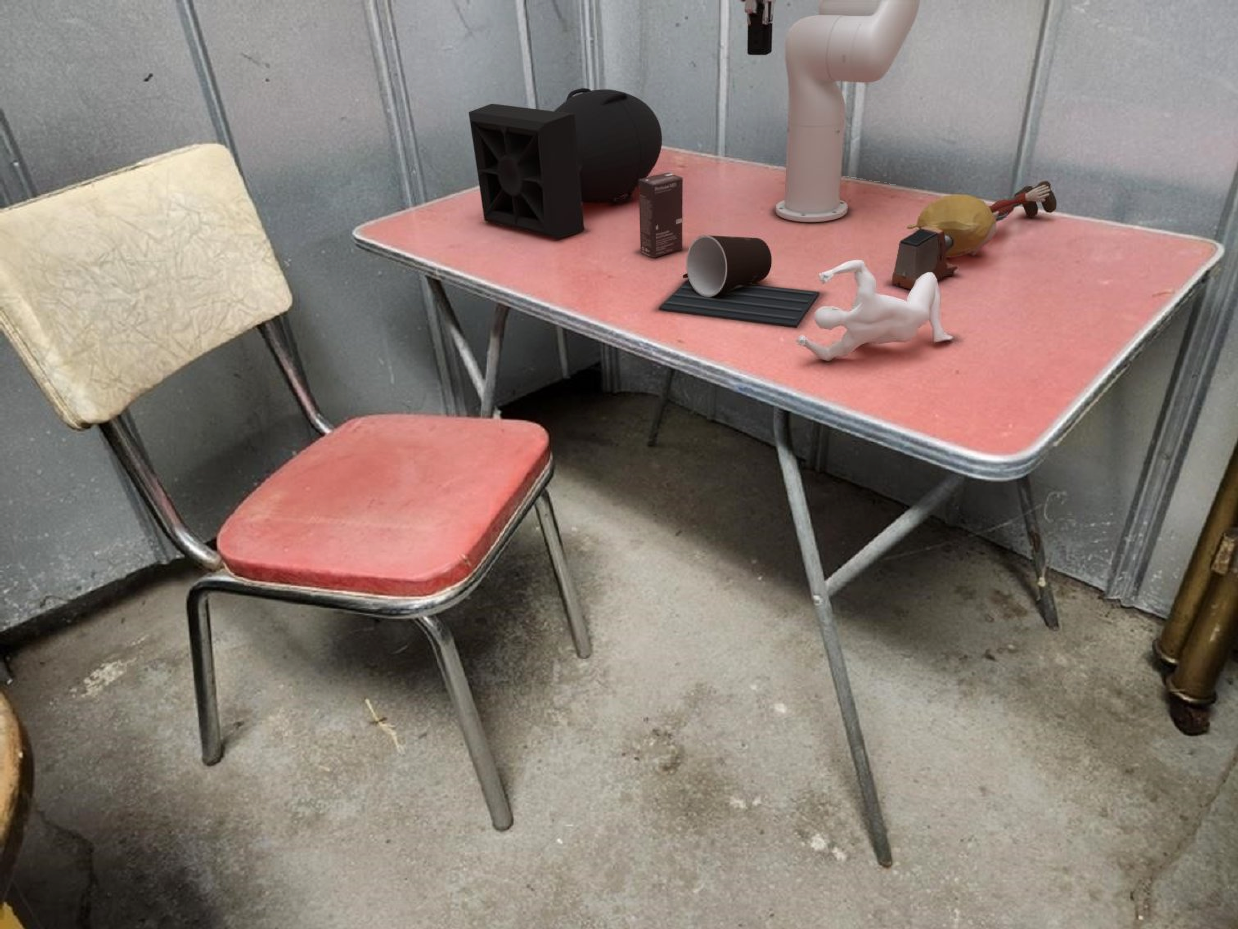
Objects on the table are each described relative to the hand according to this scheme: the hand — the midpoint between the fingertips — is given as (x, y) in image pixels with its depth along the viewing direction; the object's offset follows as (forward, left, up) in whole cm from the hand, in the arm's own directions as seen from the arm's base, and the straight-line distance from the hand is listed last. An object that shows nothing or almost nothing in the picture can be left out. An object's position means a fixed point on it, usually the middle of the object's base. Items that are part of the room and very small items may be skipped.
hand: (759, 53), depth 128 cm
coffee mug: (+13, +3, -26) cm, 29 cm away
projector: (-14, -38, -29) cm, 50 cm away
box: (+6, -14, -29) cm, 33 cm away
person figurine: (+33, +26, -29) cm, 51 cm away
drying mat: (+22, +5, -29) cm, 37 cm away
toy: (-13, +34, -29) cm, 47 cm away
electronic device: (+7, +28, -29) cm, 41 cm away
